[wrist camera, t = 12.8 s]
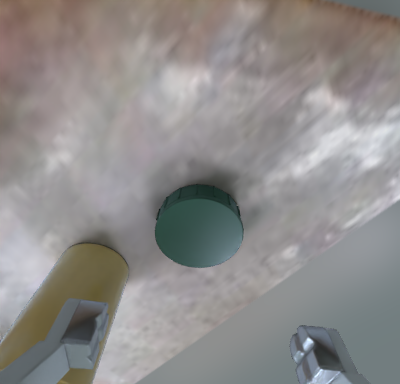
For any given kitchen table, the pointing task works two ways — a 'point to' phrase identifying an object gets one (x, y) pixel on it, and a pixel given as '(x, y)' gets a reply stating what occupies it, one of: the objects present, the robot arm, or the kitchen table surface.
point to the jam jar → (57, 296)
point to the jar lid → (199, 226)
